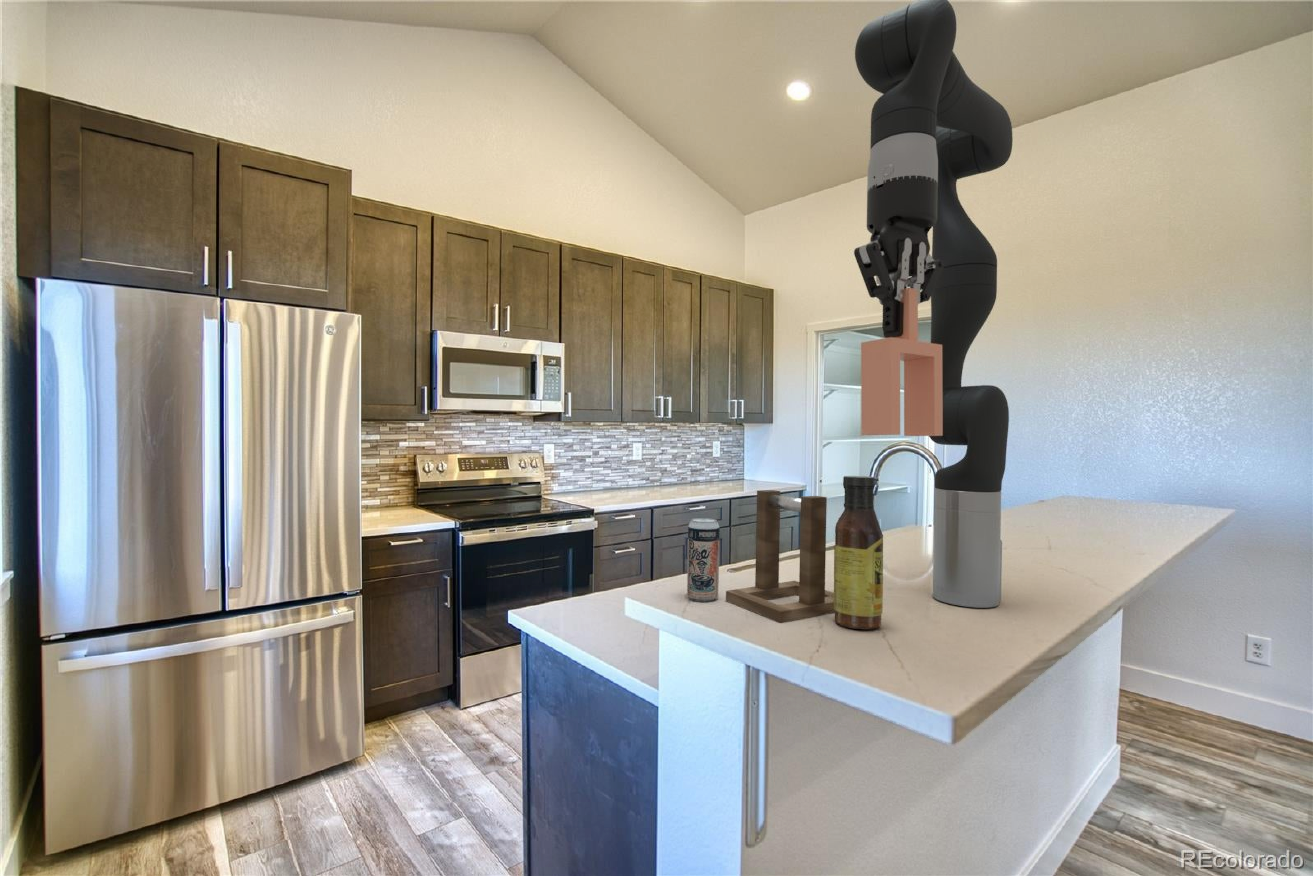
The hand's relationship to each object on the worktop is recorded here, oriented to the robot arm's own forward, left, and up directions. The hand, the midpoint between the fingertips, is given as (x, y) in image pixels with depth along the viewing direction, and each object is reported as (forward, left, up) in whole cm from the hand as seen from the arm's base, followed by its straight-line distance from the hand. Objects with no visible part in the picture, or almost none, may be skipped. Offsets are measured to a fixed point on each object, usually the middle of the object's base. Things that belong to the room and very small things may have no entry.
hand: (898, 337), depth 69 cm
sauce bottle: (-5, -10, -37) cm, 39 cm away
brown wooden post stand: (-3, -21, -37) cm, 42 cm away
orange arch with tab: (0, +1, -11) cm, 11 cm away
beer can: (+6, -30, -37) cm, 48 cm away
